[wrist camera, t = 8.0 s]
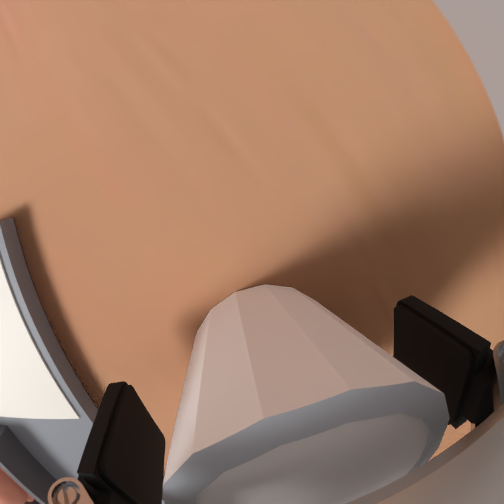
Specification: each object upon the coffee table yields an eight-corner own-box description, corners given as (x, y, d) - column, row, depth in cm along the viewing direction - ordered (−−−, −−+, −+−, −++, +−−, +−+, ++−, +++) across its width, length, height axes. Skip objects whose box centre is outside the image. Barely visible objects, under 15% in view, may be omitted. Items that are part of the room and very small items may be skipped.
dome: (54, 486, 10) (41, 529, 6) (13, 476, 10) (-2, 511, 6) (8, 437, 9) (-17, 482, 5) (-28, 430, 9) (-50, 465, 4)
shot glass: (263, 228, 10) (371, 306, 3) (370, 333, 12) (473, 429, 5) (144, 356, 10) (105, 507, 4) (264, 428, 12) (300, 548, 5)
